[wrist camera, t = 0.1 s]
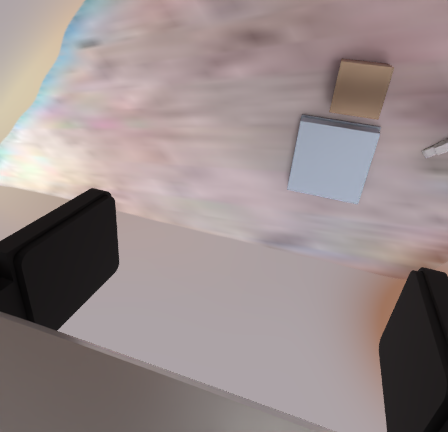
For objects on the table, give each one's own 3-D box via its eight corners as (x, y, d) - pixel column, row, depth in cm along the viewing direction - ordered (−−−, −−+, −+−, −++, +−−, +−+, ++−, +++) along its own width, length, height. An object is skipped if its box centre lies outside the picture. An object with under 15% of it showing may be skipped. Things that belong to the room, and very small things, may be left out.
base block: (302, 114, 43) (299, 118, 41) (380, 126, 41) (382, 132, 39) (288, 182, 48) (285, 190, 45) (358, 196, 46) (359, 206, 43)
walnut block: (342, 58, 39) (341, 61, 34) (387, 63, 38) (394, 67, 33) (331, 103, 42) (329, 112, 37) (374, 109, 41) (378, 119, 35)
